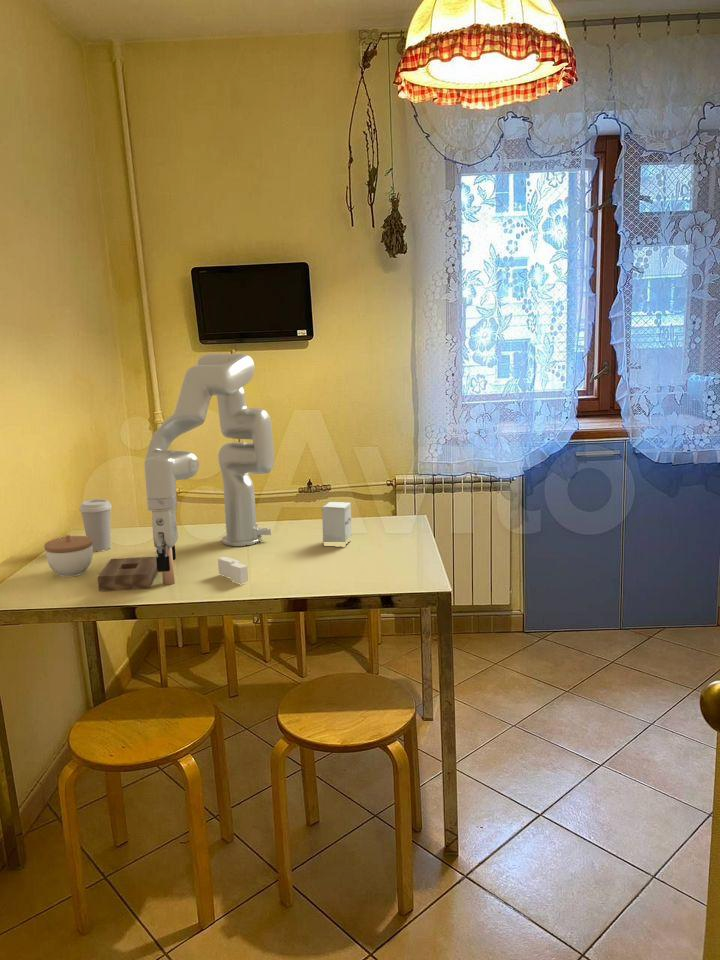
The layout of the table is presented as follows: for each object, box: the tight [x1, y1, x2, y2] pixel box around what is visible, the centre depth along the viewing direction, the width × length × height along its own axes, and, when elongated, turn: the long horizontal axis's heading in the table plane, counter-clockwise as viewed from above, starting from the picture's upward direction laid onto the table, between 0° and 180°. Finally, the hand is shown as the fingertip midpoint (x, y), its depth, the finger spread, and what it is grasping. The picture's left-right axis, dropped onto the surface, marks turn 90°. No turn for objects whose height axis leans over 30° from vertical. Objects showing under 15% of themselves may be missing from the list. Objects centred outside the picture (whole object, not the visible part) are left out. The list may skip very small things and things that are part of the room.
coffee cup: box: [79, 498, 113, 552], centre depth 233 cm, size 10×10×15 cm
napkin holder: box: [217, 556, 249, 584], centre depth 202 cm, size 15×11×6 cm
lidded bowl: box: [44, 534, 94, 578], centre depth 211 cm, size 13×13×11 cm
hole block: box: [97, 556, 159, 592], centre depth 204 cm, size 13×15×4 cm
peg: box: [161, 546, 175, 586], centre depth 200 cm, size 3×3×10 cm
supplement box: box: [321, 501, 353, 543], centre depth 232 cm, size 7×7×13 cm
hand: (166, 565), depth 200 cm, fingers open, 9 cm apart
